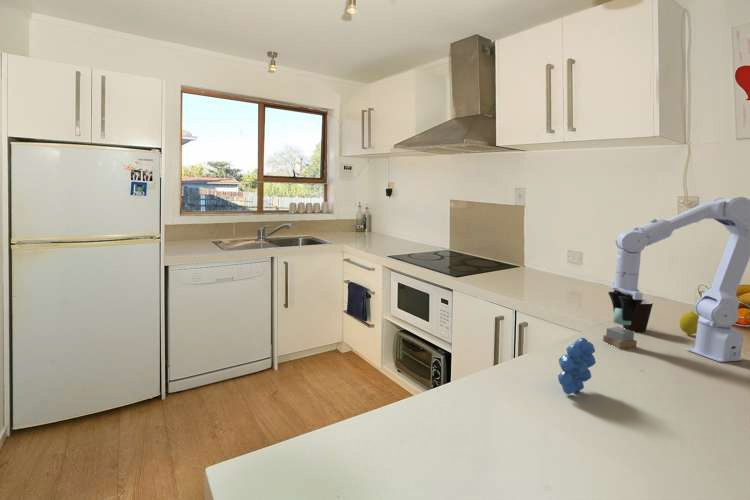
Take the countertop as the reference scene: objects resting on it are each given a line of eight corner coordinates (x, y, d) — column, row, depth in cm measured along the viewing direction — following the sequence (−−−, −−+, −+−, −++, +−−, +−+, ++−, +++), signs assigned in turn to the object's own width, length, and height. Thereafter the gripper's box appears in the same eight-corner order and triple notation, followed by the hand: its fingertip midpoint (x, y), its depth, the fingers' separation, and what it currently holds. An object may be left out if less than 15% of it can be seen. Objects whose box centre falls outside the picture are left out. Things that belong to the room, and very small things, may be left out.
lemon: (691, 333, 133) (694, 309, 132) (703, 338, 127) (706, 314, 126) (674, 332, 133) (676, 308, 132) (685, 337, 128) (688, 313, 127)
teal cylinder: (634, 324, 117) (635, 311, 116) (622, 325, 116) (623, 311, 115) (622, 320, 121) (623, 307, 120) (609, 321, 120) (611, 307, 119)
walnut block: (635, 349, 117) (636, 341, 117) (618, 350, 116) (619, 342, 115) (619, 342, 123) (620, 334, 122) (602, 343, 121) (603, 335, 121)
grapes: (571, 378, 94) (575, 329, 93) (600, 390, 89) (605, 337, 87) (541, 390, 88) (545, 337, 87) (570, 403, 82) (575, 347, 81)
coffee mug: (649, 335, 129) (652, 305, 128) (618, 329, 134) (620, 300, 133) (650, 327, 138) (654, 299, 137) (621, 322, 143) (624, 295, 142)
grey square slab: (633, 340, 118) (634, 331, 117) (622, 341, 116) (623, 333, 115) (617, 334, 122) (618, 326, 122) (606, 336, 120) (606, 328, 120)
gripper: (601, 268, 124) (597, 310, 126) (625, 276, 110) (620, 324, 111) (625, 269, 123) (621, 312, 125) (652, 277, 109) (647, 326, 111)
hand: (622, 318), depth 118 cm, fingers closed on teal cylinder, 4 cm apart
